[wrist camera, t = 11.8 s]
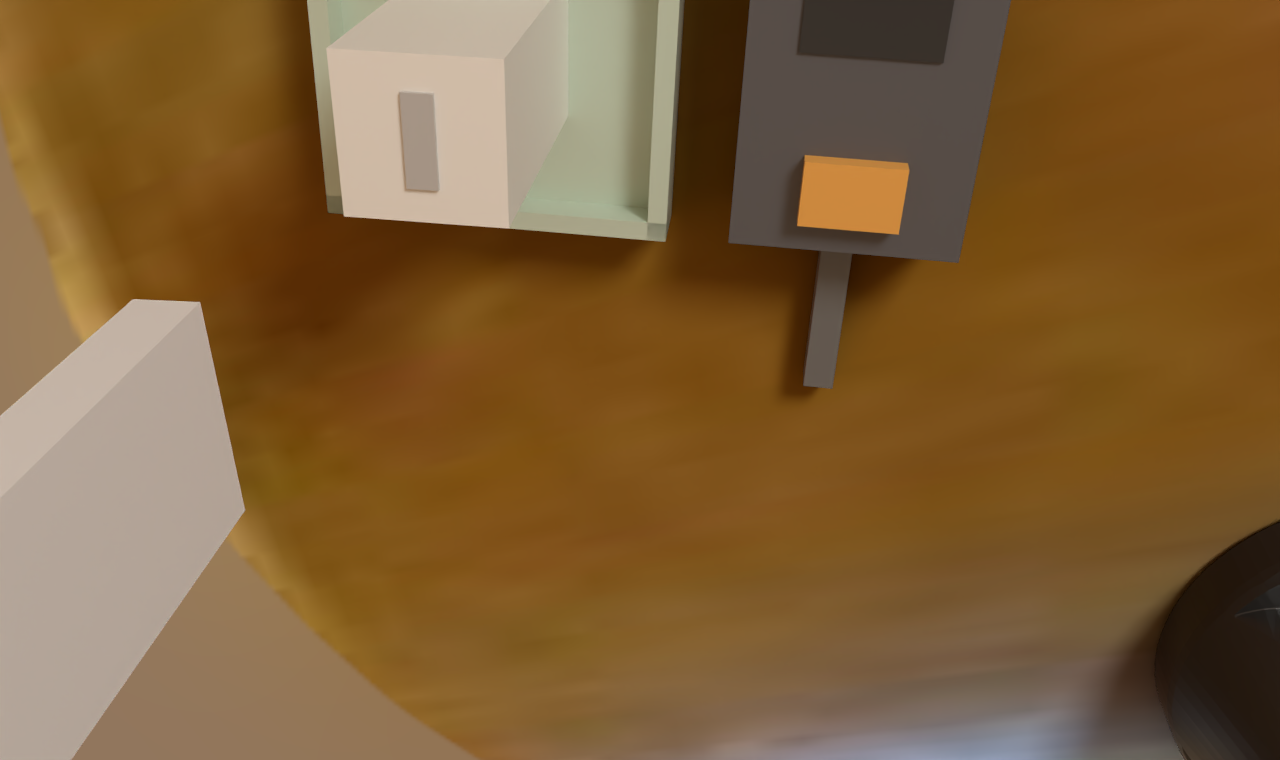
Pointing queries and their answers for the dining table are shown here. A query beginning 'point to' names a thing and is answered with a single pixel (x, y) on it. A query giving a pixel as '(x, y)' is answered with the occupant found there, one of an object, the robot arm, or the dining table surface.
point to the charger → (448, 107)
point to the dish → (574, 118)
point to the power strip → (861, 136)
